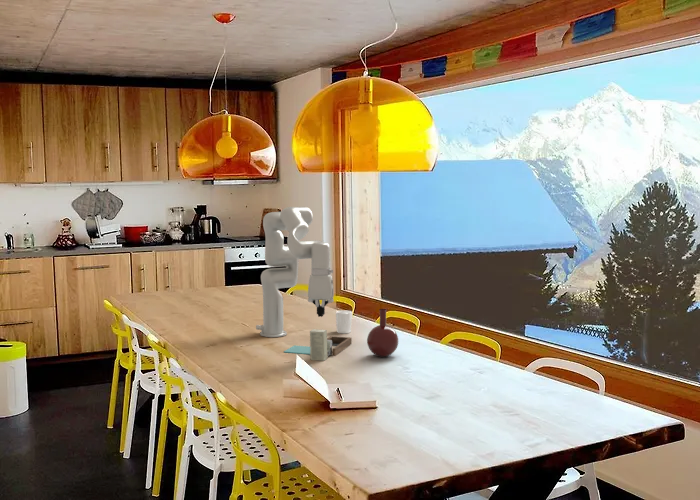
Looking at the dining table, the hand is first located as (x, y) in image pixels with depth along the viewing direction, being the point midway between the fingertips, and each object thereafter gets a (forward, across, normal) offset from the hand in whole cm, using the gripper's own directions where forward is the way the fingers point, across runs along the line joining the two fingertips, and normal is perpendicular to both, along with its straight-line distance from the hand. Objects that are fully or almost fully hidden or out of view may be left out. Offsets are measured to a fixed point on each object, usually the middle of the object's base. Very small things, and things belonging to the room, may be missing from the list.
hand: (320, 316), depth 312 cm
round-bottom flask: (+18, -25, -8) cm, 32 cm away
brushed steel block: (+17, 0, -3) cm, 17 cm away
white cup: (+18, 0, -51) cm, 54 cm away
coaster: (+18, +11, -11) cm, 24 cm away
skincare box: (+18, 0, +2) cm, 18 cm away
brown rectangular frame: (+18, -2, -16) cm, 24 cm away
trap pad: (+18, -3, -24) cm, 30 cm away
